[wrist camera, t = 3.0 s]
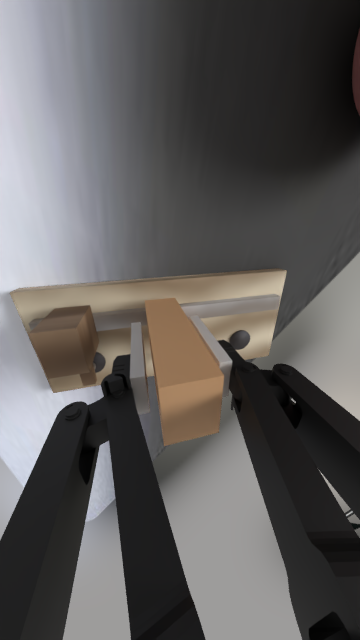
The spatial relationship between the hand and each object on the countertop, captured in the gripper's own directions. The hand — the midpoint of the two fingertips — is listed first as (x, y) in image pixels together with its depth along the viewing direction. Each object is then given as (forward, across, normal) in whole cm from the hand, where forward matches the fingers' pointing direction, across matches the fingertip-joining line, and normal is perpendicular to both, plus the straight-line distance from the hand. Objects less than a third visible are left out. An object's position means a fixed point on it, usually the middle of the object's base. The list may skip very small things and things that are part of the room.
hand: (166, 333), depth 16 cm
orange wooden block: (+4, 0, -2) cm, 4 cm away
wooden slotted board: (+6, +1, -2) cm, 7 cm away
